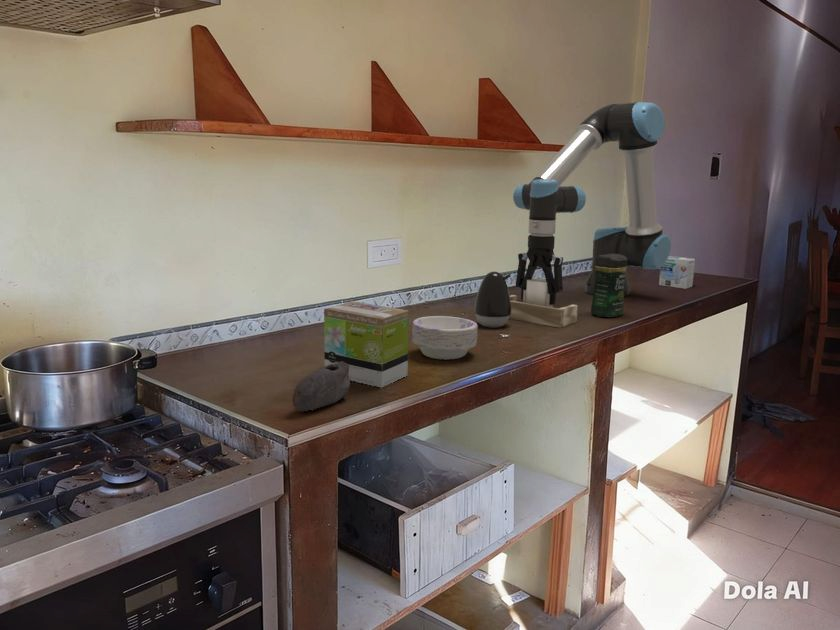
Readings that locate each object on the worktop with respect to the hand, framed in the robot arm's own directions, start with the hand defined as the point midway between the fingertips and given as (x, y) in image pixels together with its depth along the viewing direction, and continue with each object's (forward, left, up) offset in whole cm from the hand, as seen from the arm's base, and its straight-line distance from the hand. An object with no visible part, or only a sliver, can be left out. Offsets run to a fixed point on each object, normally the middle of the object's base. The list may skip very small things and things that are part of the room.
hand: (537, 313), depth 205 cm
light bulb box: (-87, +8, -2) cm, 87 cm away
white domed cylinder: (0, 0, 0) cm, 0 cm away
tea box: (+75, +4, -2) cm, 75 cm away
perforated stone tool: (+93, +10, -2) cm, 94 cm away
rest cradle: (+1, 0, -2) cm, 2 cm away
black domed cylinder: (+17, -4, -2) cm, 18 cm away
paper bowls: (+50, +5, -2) cm, 50 cm away
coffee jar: (-19, +13, -2) cm, 23 cm away
